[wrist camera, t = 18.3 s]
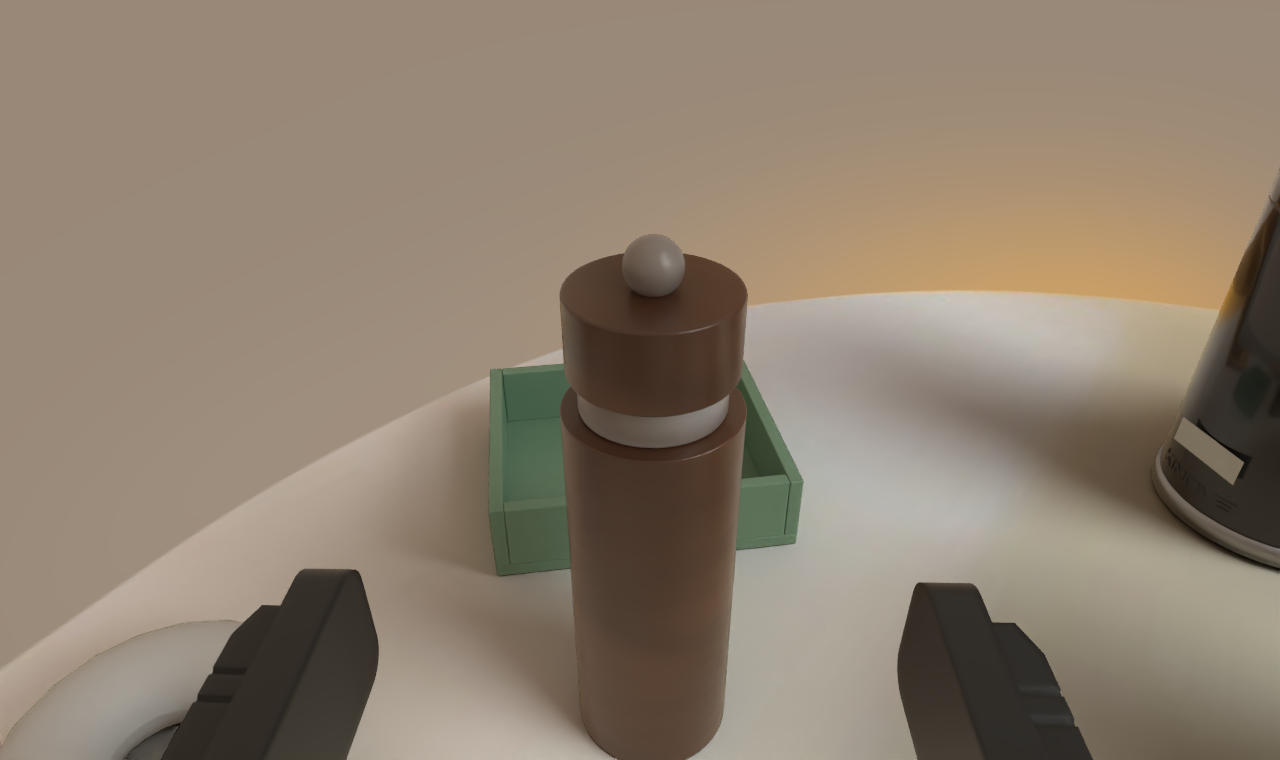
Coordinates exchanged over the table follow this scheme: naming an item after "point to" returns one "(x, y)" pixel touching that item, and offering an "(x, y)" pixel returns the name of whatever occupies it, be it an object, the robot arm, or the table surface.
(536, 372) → the green shallow open box
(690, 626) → the pepper mill
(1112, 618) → the table surface
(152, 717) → the donut
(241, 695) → the robot arm
